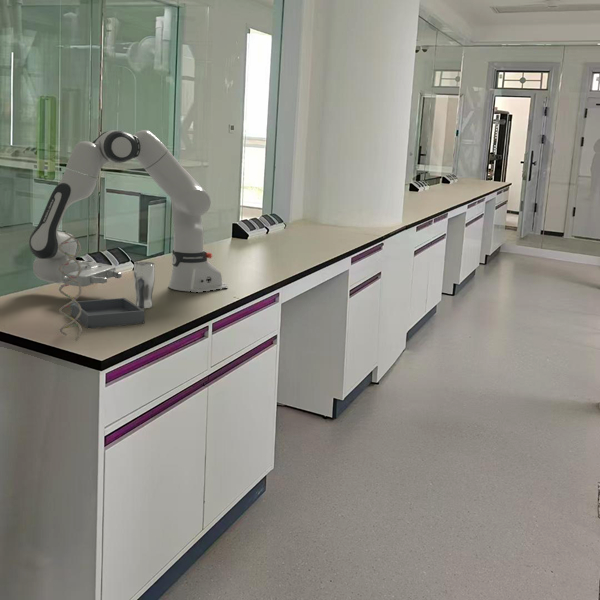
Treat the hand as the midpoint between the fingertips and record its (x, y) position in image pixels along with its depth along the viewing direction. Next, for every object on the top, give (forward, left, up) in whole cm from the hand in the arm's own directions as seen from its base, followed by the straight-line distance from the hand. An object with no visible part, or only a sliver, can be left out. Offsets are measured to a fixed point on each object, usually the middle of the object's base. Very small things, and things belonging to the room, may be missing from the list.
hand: (113, 278), depth 247 cm
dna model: (+24, +35, -9) cm, 44 cm away
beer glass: (-8, +9, -9) cm, 15 cm away
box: (+8, +19, -9) cm, 23 cm away
